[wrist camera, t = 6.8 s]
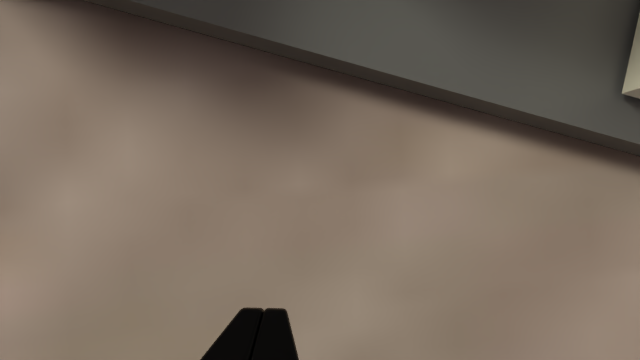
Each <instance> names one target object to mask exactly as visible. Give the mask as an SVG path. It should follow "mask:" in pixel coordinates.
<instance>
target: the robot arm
mask: <svg viewBox="0 0 640 360" xmlns="http://www.w3.org/2000/svg"><path fill="white" fill-rule="evenodd" d="M201 360H299V358H298V354H297V350H296V346H295V342H294V338H293V334H292V330H291V326H290V322H289V318H288V314H287V311H286V310H285V309H282V308H267V309H265V311H264V310H263V309H262V308H243V309H241V310H240V311H239V312H238V313H237V315H236V316H235V317H234V318H233V320H232V321H231V322H230V323H229V325H228V326H227V327H226V328H225V330H224V331H223V332H222V333H221V335H220V336H219V337H218V338H217V340H216V341H215V342H214V343H213V345H212V346H211V347H210V348H209V350H208V351H207V352H206V353H205V355H204V356H203V357H202V358H201Z"/></svg>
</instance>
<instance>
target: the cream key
mask: <svg viewBox="0 0 640 360" xmlns="http://www.w3.org/2000/svg"><path fill="white" fill-rule="evenodd" d="M622 94H625V95H628V96H632V97H635V98H639V99H640V13H639V18H638V22H637V27H636V31H635V36H634V40H633V45H632V49H631V54H630V58H629V63H628V67H627V72H626V76H625V81H624V85H623V90H622Z"/></svg>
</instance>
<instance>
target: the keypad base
mask: <svg viewBox="0 0 640 360" xmlns="http://www.w3.org/2000/svg"><path fill="white" fill-rule="evenodd" d="M84 1H87V2H91V3H95V4H98V5H102V6H105V7H109V8H112V9H116V10H120V11H123V12H127V13H130V14H134V15H137V16H141V17H145V18H148V19H152V20H155V21H159V22H162V23H166V24H170V25H173V26H177V27H180V28H184V29H187V30H191V31H195V32H198V33H202V34H205V35H209V36H212V37H216V38H220V39H223V40H227V41H230V42H234V43H237V44H241V45H245V46H248V47H252V48H255V49H259V50H262V51H266V52H270V53H273V54H277V55H280V56H284V57H287V58H291V59H295V60H298V61H302V62H305V63H309V64H313V65H316V66H320V67H323V68H327V69H330V70H334V71H338V72H341V73H345V74H348V75H352V76H355V77H359V78H363V79H366V80H370V81H373V82H377V83H380V84H384V85H388V86H391V87H395V88H398V89H402V90H405V91H409V92H413V93H416V94H420V95H423V96H427V97H430V98H434V99H438V100H441V101H445V102H448V103H452V104H455V105H459V106H463V107H466V108H470V109H473V110H477V111H480V112H484V113H488V114H491V115H495V116H498V117H502V118H506V119H509V120H513V121H516V122H520V123H523V124H527V125H531V126H534V127H538V128H541V129H545V130H548V131H552V132H556V133H559V134H563V135H566V136H570V137H573V138H577V139H581V140H584V141H588V142H591V143H595V144H598V145H602V146H606V147H609V148H613V149H616V150H620V151H623V152H627V153H631V154H634V155H638V156H640V99H639V98H635V97H632V96H628V95H625V94H622V90H623V85H624V81H625V76H626V72H627V67H628V63H629V58H630V54H631V49H632V45H633V40H634V36H635V31H636V27H637V22H638V18H639V13H640V0H84Z"/></svg>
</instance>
